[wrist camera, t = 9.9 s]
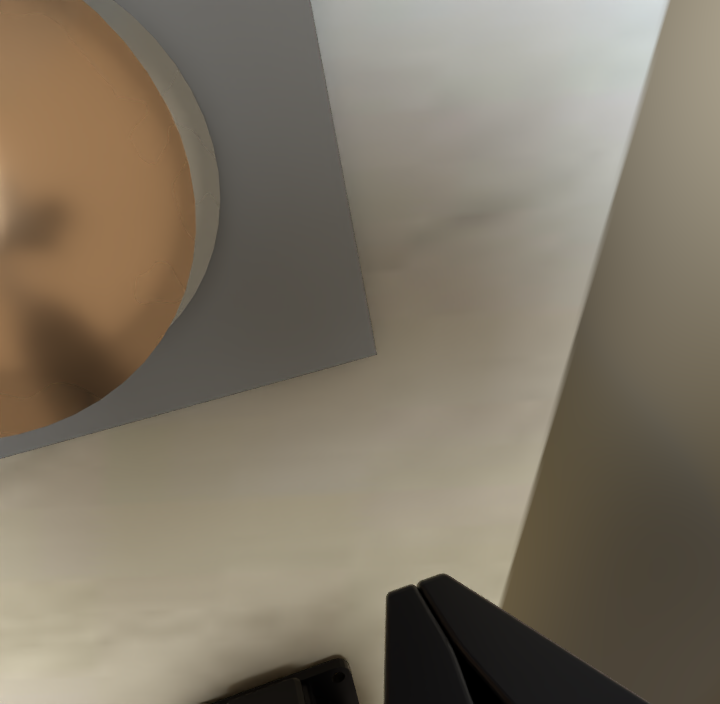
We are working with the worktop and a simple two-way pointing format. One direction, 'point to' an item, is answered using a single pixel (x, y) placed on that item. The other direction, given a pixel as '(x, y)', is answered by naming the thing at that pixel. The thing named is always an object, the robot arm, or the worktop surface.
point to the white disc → (189, 128)
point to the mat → (249, 220)
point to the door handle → (82, 212)
